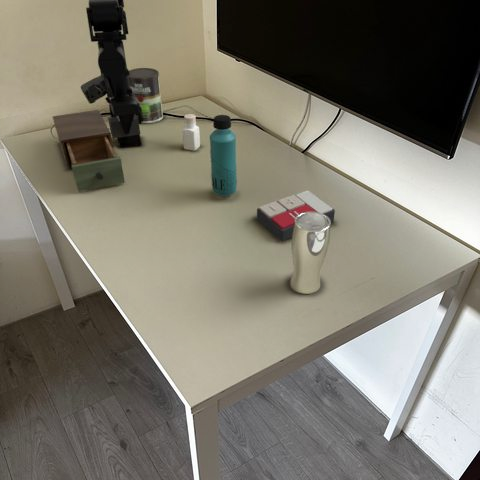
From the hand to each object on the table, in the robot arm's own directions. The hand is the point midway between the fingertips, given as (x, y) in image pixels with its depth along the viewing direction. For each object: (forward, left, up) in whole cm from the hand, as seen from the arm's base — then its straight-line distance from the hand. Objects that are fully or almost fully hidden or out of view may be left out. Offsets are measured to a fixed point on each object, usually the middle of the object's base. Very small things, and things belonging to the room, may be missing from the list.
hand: (125, 131), depth 121 cm
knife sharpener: (0, 0, -1) cm, 1 cm away
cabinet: (+12, -18, -12) cm, 25 cm away
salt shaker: (-19, -14, -13) cm, 27 cm away
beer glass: (-32, +55, -13) cm, 64 cm away
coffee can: (-8, -41, -13) cm, 44 cm away
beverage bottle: (-23, +16, -13) cm, 30 cm away
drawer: (+10, -2, -12) cm, 15 cm away
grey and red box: (-37, +32, -13) cm, 50 cm away
